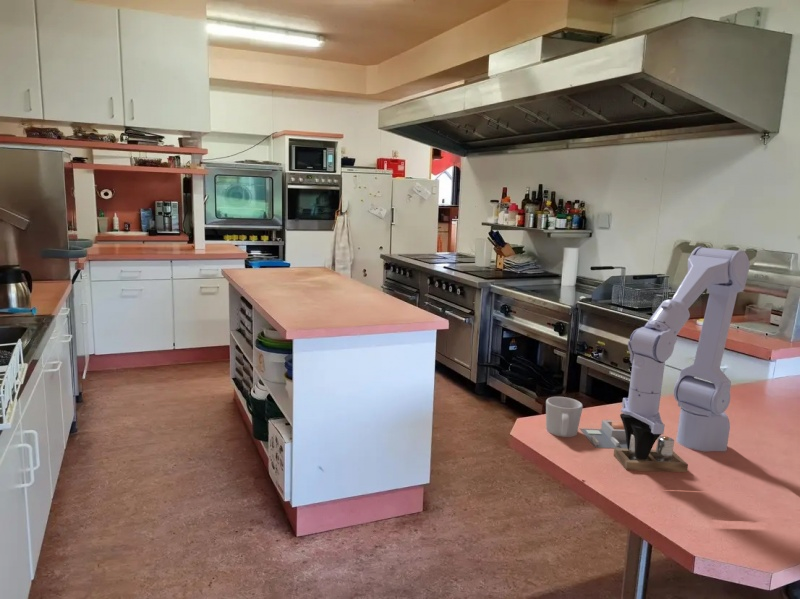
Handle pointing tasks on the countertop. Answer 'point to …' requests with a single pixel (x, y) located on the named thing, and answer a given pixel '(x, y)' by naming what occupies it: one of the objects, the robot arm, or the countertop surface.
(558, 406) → the cup
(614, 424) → the button
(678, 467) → the wooden divided tray
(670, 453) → the cell
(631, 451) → the cylinder
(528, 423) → the countertop surface
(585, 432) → the grey board with box
